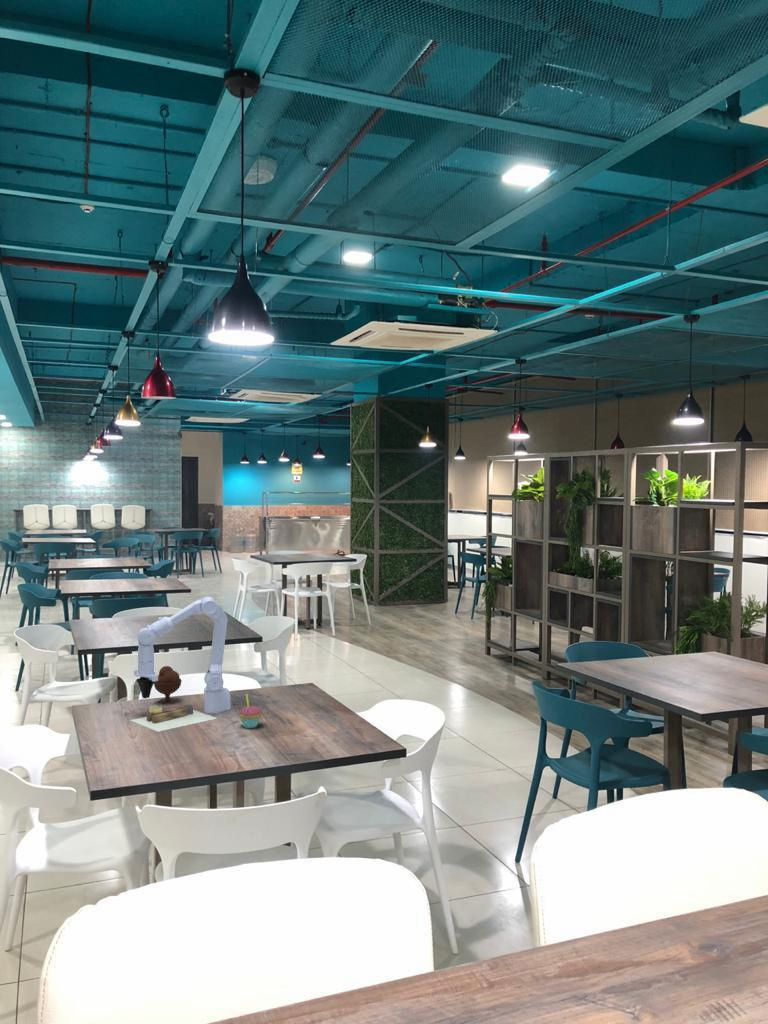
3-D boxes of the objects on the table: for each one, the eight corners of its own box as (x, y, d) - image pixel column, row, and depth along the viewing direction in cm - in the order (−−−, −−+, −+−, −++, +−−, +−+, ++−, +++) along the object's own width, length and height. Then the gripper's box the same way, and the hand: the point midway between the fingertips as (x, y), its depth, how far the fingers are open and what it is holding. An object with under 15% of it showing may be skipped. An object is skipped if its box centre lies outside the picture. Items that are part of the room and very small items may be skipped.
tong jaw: (184, 714, 302) (184, 708, 302) (187, 715, 301) (187, 709, 301) (151, 722, 292) (151, 715, 292) (155, 723, 290) (155, 716, 290)
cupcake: (233, 727, 289) (233, 694, 289) (248, 721, 297) (248, 689, 296) (253, 730, 285) (253, 696, 285) (267, 724, 293) (267, 691, 292)
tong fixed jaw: (189, 711, 307) (189, 703, 306) (194, 713, 304) (194, 705, 304) (146, 720, 294) (146, 712, 294) (151, 722, 291) (151, 714, 291)
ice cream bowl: (147, 707, 317) (147, 668, 317) (163, 700, 328) (163, 663, 328) (171, 709, 314) (171, 670, 314) (186, 702, 325) (186, 664, 324)
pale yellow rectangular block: (156, 710, 298) (156, 705, 298) (162, 712, 295) (162, 707, 295) (149, 711, 296) (149, 706, 296) (154, 714, 293) (154, 708, 293)
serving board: (188, 710, 312) (188, 708, 312) (217, 721, 297) (217, 718, 297) (130, 722, 295) (130, 720, 295) (157, 734, 281) (157, 731, 281)
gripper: (126, 659, 303) (126, 695, 303) (145, 665, 292) (145, 703, 292) (143, 657, 308) (143, 692, 308) (163, 662, 297) (163, 699, 297)
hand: (145, 697), depth 300 cm, fingers closed
